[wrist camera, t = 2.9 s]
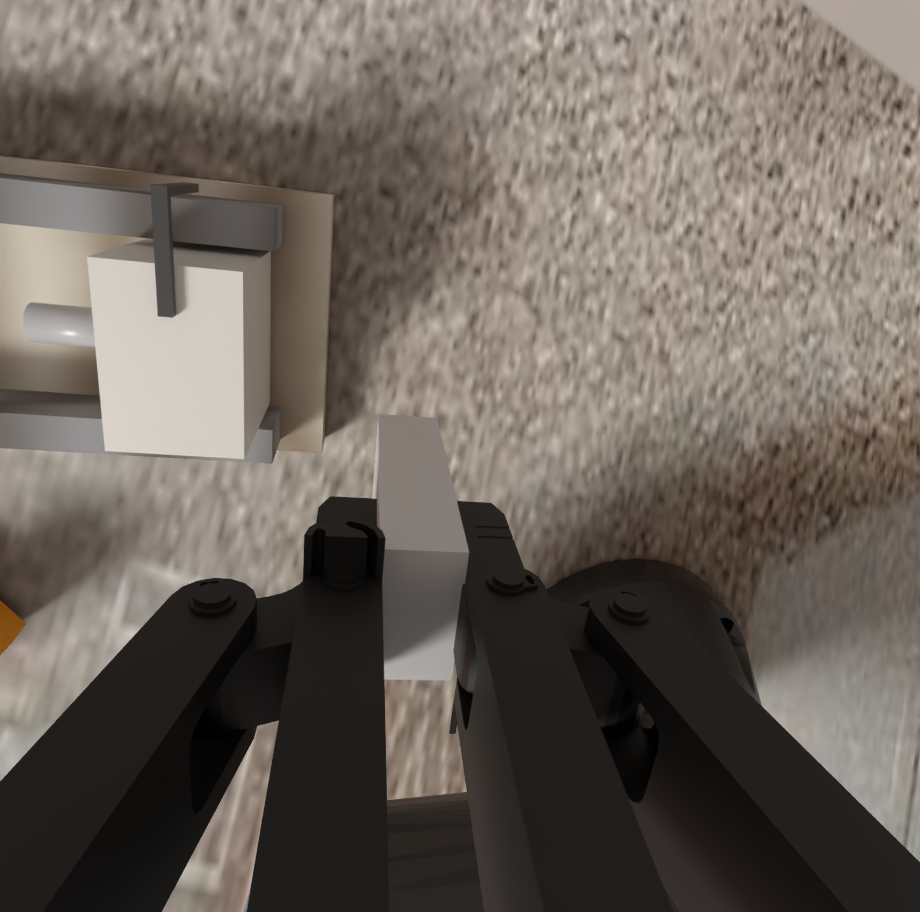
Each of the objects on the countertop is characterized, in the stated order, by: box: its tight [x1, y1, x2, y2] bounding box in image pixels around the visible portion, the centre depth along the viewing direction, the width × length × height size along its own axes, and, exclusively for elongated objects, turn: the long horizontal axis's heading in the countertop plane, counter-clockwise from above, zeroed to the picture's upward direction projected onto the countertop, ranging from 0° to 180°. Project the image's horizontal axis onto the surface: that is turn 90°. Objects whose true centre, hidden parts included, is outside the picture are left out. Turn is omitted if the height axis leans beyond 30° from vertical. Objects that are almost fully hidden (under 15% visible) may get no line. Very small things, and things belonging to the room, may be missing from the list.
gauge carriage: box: [23, 182, 271, 459], centre depth 26 cm, size 9×10×7 cm
